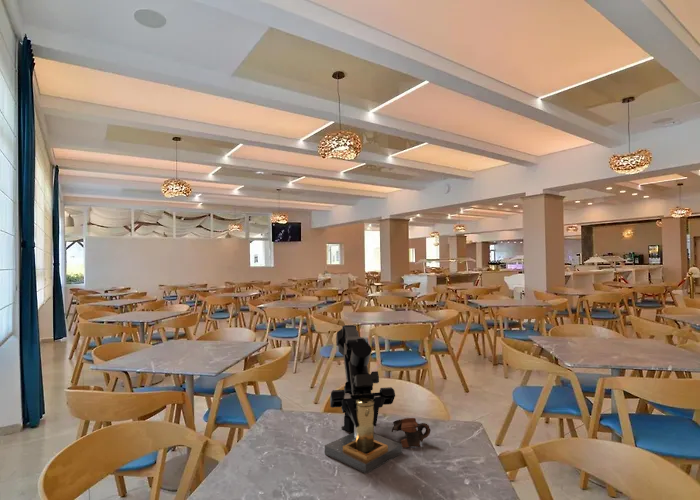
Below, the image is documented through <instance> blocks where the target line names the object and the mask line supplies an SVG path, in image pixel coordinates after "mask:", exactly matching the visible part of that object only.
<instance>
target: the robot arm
mask: <svg viewBox="0 0 700 500" xmlns="http://www.w3.org/2000/svg"><path fill="white" fill-rule="evenodd" d="M335 343H336V344H335V345H336V347H337V348H338V352H339V353H340V354H341V355H342V356H343V363H344V364H343V365H344V372H345V381H346V382H345V383H344V387H343V389H333V390H331V391H330V398H329V403H330V404H329V405H330V408H340V409H341V411H342V414H344V416H343V425H342V426H341V427H340V428H341V429H342V430H344V431H347V432H349V433H350V434H351V433H354V425H355V427H357V418H356V400H358V399H361V398H368V399H372V400H374V427H377V422H378V416H379V410H380V408H383V406H384V405H385V406H386V405H387V406H388V405H392V404H393V403H394V401H395V398H396V391H395V388H393V387H391V386H390V387H380V389H379V392H372V391H373V389H374V388H373V386H374V384H379V383H380V377H379V375H380V374H379V372H378V371H371V372H370V373H369V367H368V365H369V362H370V358H371V354H372V351H373V349H372V347H371V346H370V344H369V342H367V340H366V338H364V337H361V336H360V334H359V330H357V325H354V324H344V325H342V328H341V329H340V330H338V331H337V332H336V338H335Z"/></svg>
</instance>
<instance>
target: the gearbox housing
mask: <svg viewBox="0 0 700 500" xmlns="http://www.w3.org/2000/svg"><path fill="white" fill-rule="evenodd" d="M401 454H403V448H402V444H401V442H398V441H394V440H391V439H390V438H387V437H384V436H381V435H379V434H376V433H374V449H373V450H372V451H369V452H362V451H359V450H357V448H356V427H355V425H354V433H351V432H350V434H346V435H345V436H343V437H340V438H338V439H336V440H334V441H331V442H329V443H327V444H325V445H324V455H325V456H328V457H330V458H332V459H334V460H336V461H338V462H340V463H342V464H344V465H346V466H349V467H350V468H353V469H355V470H357V471H359V472H360V473H361V472H362V473H363V474H368V473H369V472H371V471H373V470H375V469H376V468H378V467H380V466H382V465H384V464H385V463H387V462H389V461H391V460H392V459H394V458H396V457H398V456H399V455H401Z"/></svg>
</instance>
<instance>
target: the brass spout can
mask: <svg viewBox="0 0 700 500" xmlns="http://www.w3.org/2000/svg"><path fill="white" fill-rule="evenodd" d="M356 418H357V427H356V448H357V450H359V451H362V452H363V453H366V452H369V451H372V450H373V449H374V434H375V426H374V400H372V399H368V398H361V399H358V400H356Z"/></svg>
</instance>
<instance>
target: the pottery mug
mask: <svg viewBox="0 0 700 500" xmlns="http://www.w3.org/2000/svg"><path fill="white" fill-rule="evenodd" d="M392 423H393V424H392V425H393V426H392V428H391V433H393V432H394V431H396V432H399V431H400V432H401V431H402V432H403V433H404V435H405V438H403V439H400V444H402V449H405V448H415V447H420V446H421V442H424V439H426V438H428V437H429V435H430V433H431V428H430V425H429V424H428V423H425V422H421V423H418V422H417V419H416V418H415V417H407V418H401V419H398V420H395V421H393V422H392ZM424 429H425V431H424V432H423V430H424Z"/></svg>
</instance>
